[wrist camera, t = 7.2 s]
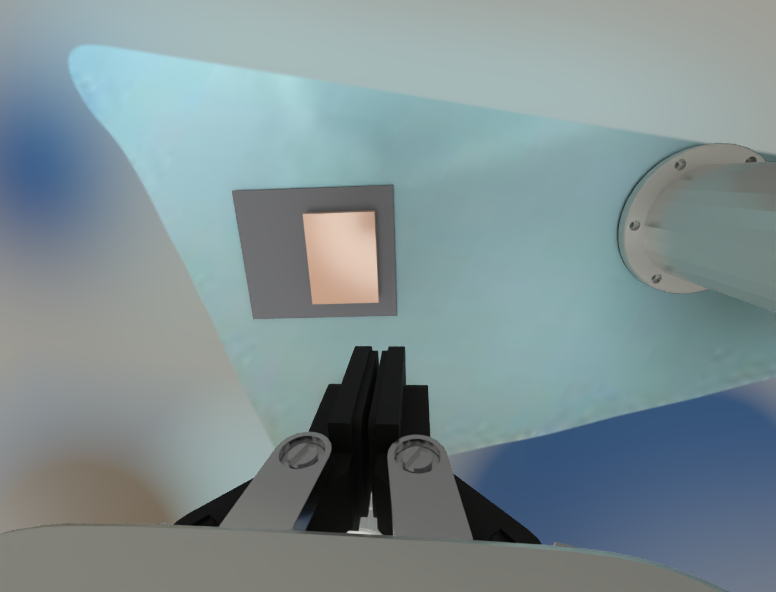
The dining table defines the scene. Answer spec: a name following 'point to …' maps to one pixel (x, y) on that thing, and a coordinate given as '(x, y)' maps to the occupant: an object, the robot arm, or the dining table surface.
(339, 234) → the tile
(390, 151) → the dining table surface
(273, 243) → the mat
